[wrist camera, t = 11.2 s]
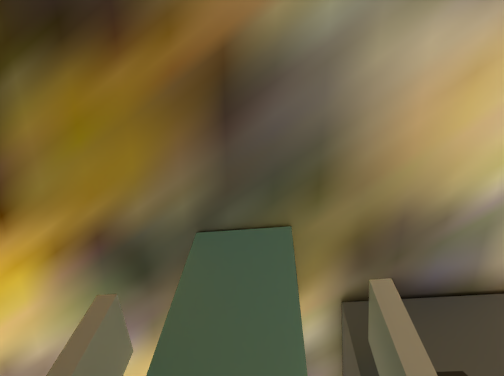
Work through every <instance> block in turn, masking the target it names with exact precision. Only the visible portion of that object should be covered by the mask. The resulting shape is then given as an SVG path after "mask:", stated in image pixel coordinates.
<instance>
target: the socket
mask: <svg viewBox="0 0 504 376" xmlns="http://www.w3.org/2000/svg"><path fill="white" fill-rule="evenodd" d="M401 300H402V302H403V304H404V306H405V308H406V310H407V312H408V314H409V316H410V318H411V321H412V323H413V325H414V327H415V329H416V331H417V333H418V335H419V337H420V340H421V342H422V344H423V346H424V348H425V350H426V352H427V354H428V356H429V358H430V361H431V363H432V365H433V367H434V369H435V371H436V372H446V371H463V372H465V373H466V374H467V375H468V376H504V294H489V295H470V296H451V297H432V298H414V299H401ZM368 323H369V301H358V302H342V349H343V376H379V373H378V370H377V367H376V364H375V360H374V357H373V354H372V351H371V347H370V344H369V341H368Z"/></svg>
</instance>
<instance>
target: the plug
mask: <svg viewBox="0 0 504 376" xmlns="http://www.w3.org/2000/svg"><path fill="white" fill-rule="evenodd" d="M146 376H307V368H306V358H305V349H304V340H303V330H302V321H301V312H300V302H299V293H298V284H297V274H296V265H295V256H294V246H293V237H292V228H291V226H288V227H273V228H259V229H245V230H230V231H216V232H201V233H196V235H195V238H194V241H193V244H192V246H191V249H190V252H189V255H188V258H187V261H186V264H185V267H184V269H183V272H182V275H181V278H180V281H179V284H178V287H177V289H176V292H175V295H174V298H173V301H172V304H171V307H170V309H169V312H168V315H167V318H166V321H165V324H164V327H163V330H162V332H161V335H160V338H159V341H158V344H157V347H156V350H155V352H154V355H153V358H152V361H151V364H150V367H149V370H148V372H147V375H146Z"/></svg>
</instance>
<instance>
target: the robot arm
mask: <svg viewBox="0 0 504 376" xmlns="http://www.w3.org/2000/svg"><path fill="white" fill-rule="evenodd" d="M368 341H369V344H370V347H371V351H372V354H373V357H374V360H375V364H376V367H377V370H378V373H379V376H468V375H467V374H466V373H465V372H463V371H446V372H436V371H435V369H434V367H433V365H432V363H431V361H430V358H429V356H428V354H427V352H426V350H425V348H424V346H423V344H422V342H421V340H420V337H419V335H418V333H417V331H416V329H415V327H414V325H413V323H412V321H411V318H410V316H409V314H408V312H407V310H406V308H405V306H404V304H403V302H402V300H401V297H400V295H399V293H398V291H397V289H396V287H395V285H394V283H393V281H392V279H391V278H388V279H371V280H369V323H368ZM132 353H133V348H132V345H131V341H130V337H129V334H128V330H127V327H126V323H125V320H124V316H123V313H122V309H121V306H120V302H119V299H118V295H117V294H110V295H97V296H96V298H95V300H94V301H93V303H92V304H91V306H90V308H89V309H88V311H87V312H86V314H85V315H84V317H83V319H82V320H81V322H80V323H79V325H78V326H77V328H76V330H75V331H74V333H73V334H72V336H71V338H70V339H69V341H68V342H67V344H66V345H65V347H64V349H63V350H62V352H61V353H60V355H59V356H58V358H57V360H56V361H55V363H54V364H53V366H52V368H51V369H50V371H49V372H48V374H47V375H46V376H123V374H124V372H125V370H126V367H127V365H128V362H129V360H130V358H131V355H132Z"/></svg>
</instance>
